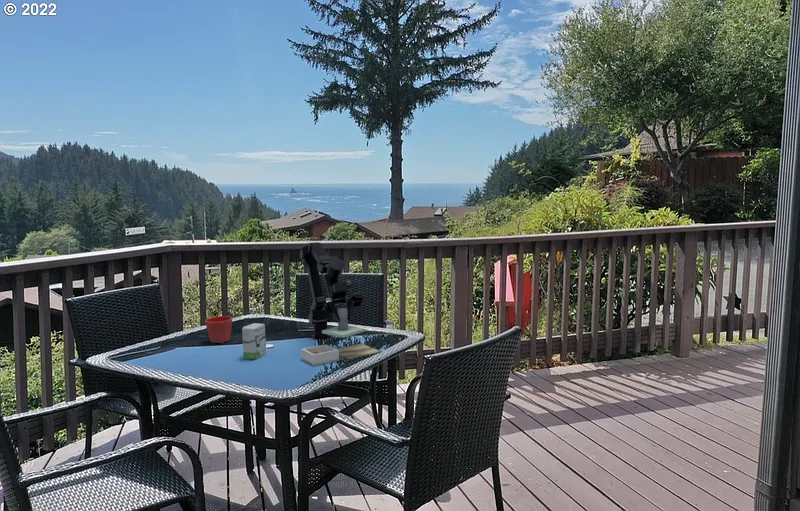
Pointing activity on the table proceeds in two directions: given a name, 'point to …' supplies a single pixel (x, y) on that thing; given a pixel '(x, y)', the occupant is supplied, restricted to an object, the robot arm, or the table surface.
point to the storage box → (320, 355)
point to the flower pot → (219, 328)
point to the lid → (343, 326)
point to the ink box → (254, 341)
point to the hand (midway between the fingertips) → (344, 320)
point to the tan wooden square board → (356, 351)
